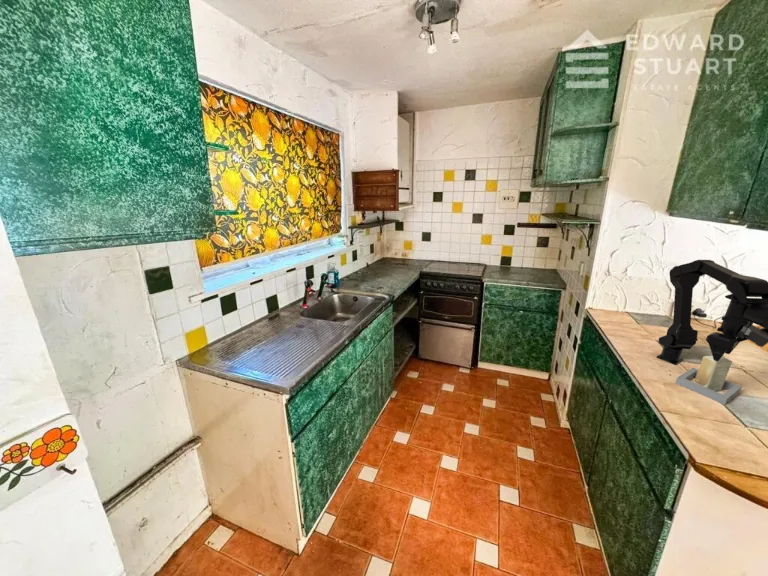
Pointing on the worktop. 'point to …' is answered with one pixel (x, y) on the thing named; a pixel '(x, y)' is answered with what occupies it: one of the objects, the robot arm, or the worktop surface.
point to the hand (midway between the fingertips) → (721, 357)
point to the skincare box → (712, 372)
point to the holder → (721, 398)
